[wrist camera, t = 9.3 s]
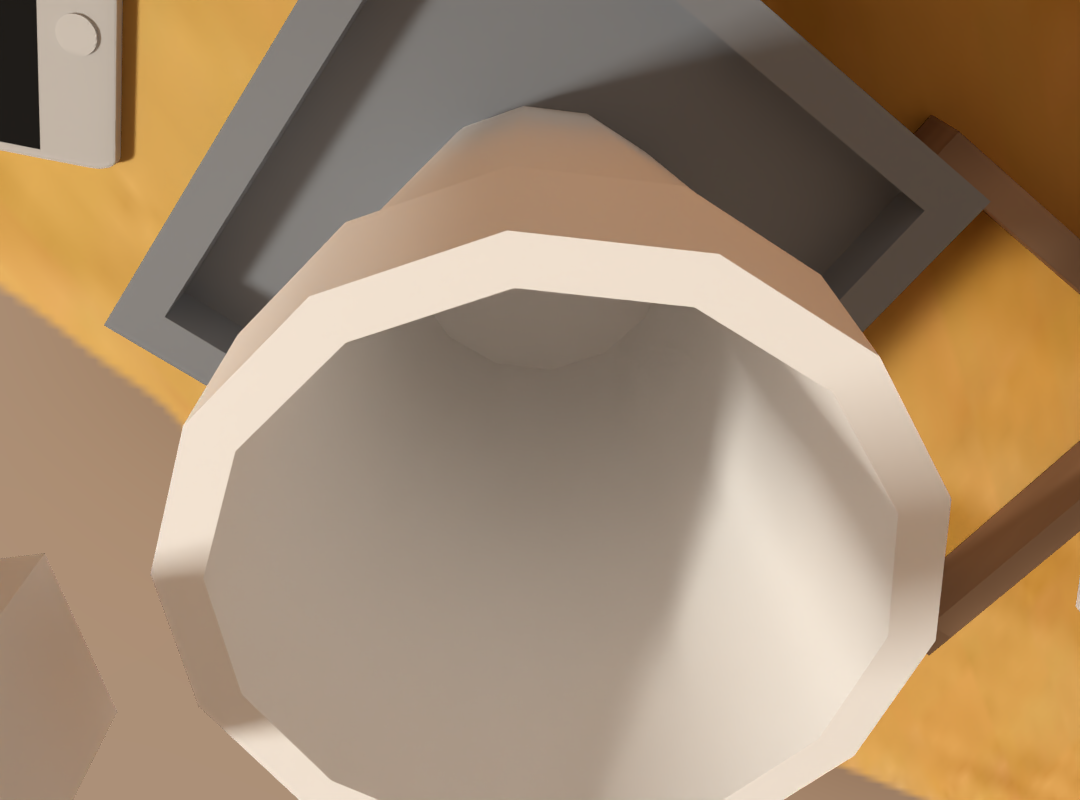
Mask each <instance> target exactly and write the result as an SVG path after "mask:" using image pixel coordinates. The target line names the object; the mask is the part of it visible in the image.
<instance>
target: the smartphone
mask: <svg viewBox="0 0 1080 800" xmlns="http://www.w3.org/2000/svg"><path fill="white" fill-rule="evenodd" d="M122 21H123V0H0V150H2V151H7V152H12V153H17V154H23V155H28V156H33V157H38V158H43V159H48V160H53V161H58V162H64V163H69V164H74V165H79V166H84V167H89V168H98V169H101V168H109V167H111V166H113V165H114V164H116V163H117V162H118V161H119V160H120V158H121V100H122Z"/></svg>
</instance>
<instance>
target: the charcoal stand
mask: <svg viewBox="0 0 1080 800" xmlns="http://www.w3.org/2000/svg"><path fill="white" fill-rule="evenodd" d="M522 106H528V107H536V108H545V109H553V110H561V111H569V112H578V113H586V114H588V115H590V116H591V117H593V118H595V119H596V120H598V121H599V122H601V123H602V124H604V125H605V126H607V127H608V128H610V129H611V130H613V131H614V132H616V133H617V134H619V135H620V136H622V137H623V138H625V139H626V140H628V141H630V142H631V143H633V144H634V145H636V146H637V147H639V148H640V149H642V150H643V151H645V152H646V153H647V154H648V155H650V156H651V157H652V158H653V159H655V160H656V161H657V162H658V163H659V164H661V165H662V166H663V167H664V168H666V169H667V170H668V171H669V172H670V173H672V174H673V175H674V176H675V177H677V178H678V179H679V180H680V181H681V182H683V183H684V184H685V185H686V186H688V187H689V188H690V189H691V190H692V191H694V192H695V193H697V194H698V195H700V196H701V197H703V198H704V199H706V200H707V201H709V202H710V203H712V204H713V205H715V206H716V207H718V208H719V209H721V210H722V211H724V212H726V213H727V214H729V215H730V216H732V217H733V218H735V219H736V220H738V221H739V222H741V223H742V224H744V225H745V226H747V227H748V228H750V229H751V230H753V231H755V232H756V233H758V234H759V235H761V236H762V237H764V238H765V239H767V240H768V241H770V242H771V243H773V244H774V245H776V246H777V247H779V248H781V249H782V250H784V251H785V252H787V253H788V254H790V255H791V256H793V257H794V258H796V259H797V260H799V261H800V262H802V263H803V264H805V265H806V266H808V267H810V268H811V269H813V270H814V271H816V272H817V273H819V274H820V275H821V276H822V277H823V279H824V280H825V281H826V283H827V284H828V286H829V287H830V288H831V290H832V291H833V292H834V294H835V295H836V297H837V298H838V299H839V301H840V302H841V304H842V305H843V306H844V308H845V309H846V311H847V312H848V313H849V315H850V316H851V317H852V319H853V320H854V322H855V323H856V324H857V326H858V327H859V329H860V330H861V331H862V332H863V331H864V330H865V329H866V328H867V327H868V326H869V325H870V324H871V323H872V322H873V321H874V320H875V319H876V318H877V317H878V316H879V315H880V314H881V313H882V312H883V311H884V310H885V309H886V308H887V307H888V306H889V305H890V304H891V303H892V302H893V301H894V300H895V299H896V298H897V297H898V296H899V295H900V294H901V293H902V292H903V291H904V290H905V289H906V288H907V287H908V286H909V285H910V283H911V282H912V281H913V280H914V279H915V278H916V277H917V276H918V275H919V274H920V273H921V272H922V271H923V270H924V269H925V268H926V267H927V266H928V265H929V264H930V263H931V262H932V261H933V260H934V259H935V258H936V257H937V256H938V255H939V254H940V253H941V252H942V251H943V250H944V249H945V248H946V247H947V246H948V245H949V244H950V243H951V242H952V241H953V240H954V239H955V238H956V237H957V236H958V235H959V234H960V233H961V232H962V231H963V230H964V229H965V227H966V226H967V225H968V224H969V223H970V222H971V221H972V220H973V219H974V218H975V217H976V216H977V215H978V214H979V213H980V212H981V211H982V210H983V209H984V208H985V207H986V206H987V205H988V204H989V203H990V202H991V201H989V200H988V199H987V198H986V197H985V196H984V195H983V194H981V193H980V192H979V191H978V190H977V189H976V188H975V187H973V186H972V185H971V184H970V183H969V182H968V181H967V180H965V179H964V178H963V177H962V176H961V175H960V174H959V173H957V172H956V171H955V170H954V169H953V168H952V167H951V166H949V165H948V164H947V163H946V162H945V161H944V160H943V159H941V158H940V157H939V156H938V155H937V154H936V153H935V152H933V151H932V150H931V149H930V148H929V147H928V146H927V145H925V144H924V143H923V142H922V141H921V140H920V139H919V138H917V137H916V136H915V135H914V134H913V133H912V132H911V131H909V130H908V129H907V128H906V127H905V126H904V125H903V124H901V123H900V122H899V121H898V120H897V119H896V118H895V117H893V116H892V115H891V114H890V113H889V112H888V111H887V110H885V109H884V108H883V107H882V106H881V105H880V104H878V103H877V102H876V101H875V100H874V99H873V98H872V97H870V96H869V95H868V94H867V93H866V92H865V91H864V90H862V89H861V88H860V87H859V86H858V85H857V84H856V83H854V82H853V81H852V80H851V79H850V78H849V77H848V76H846V75H845V74H844V73H843V72H842V71H841V70H840V69H838V68H837V67H836V66H835V65H834V64H833V63H832V62H830V61H829V60H828V59H827V58H826V57H825V56H824V55H822V54H821V53H820V52H819V51H818V50H817V49H816V48H814V47H813V46H812V45H811V44H810V43H809V42H808V41H806V40H805V39H804V38H803V37H802V36H801V35H800V34H798V33H797V32H796V31H795V30H794V29H793V28H792V27H790V26H789V25H788V24H787V23H786V22H785V21H784V20H782V19H781V18H780V17H779V16H778V15H777V14H776V13H774V12H773V11H772V10H771V9H770V8H769V7H767V6H766V5H765V4H764V3H763V2H762V1H761V0H298V1H297V3H296V5H295V6H294V8H293V10H292V11H291V13H290V15H289V16H288V18H287V20H286V21H285V23H284V25H283V26H282V28H281V30H280V31H279V33H278V35H277V36H276V38H275V40H274V41H273V43H272V45H271V47H270V48H269V50H268V52H267V53H266V55H265V57H264V58H263V60H262V62H261V63H260V65H259V67H258V68H257V70H256V72H255V73H254V75H253V77H252V78H251V80H250V82H249V83H248V85H247V87H246V88H245V90H244V92H243V93H242V95H241V97H240V98H239V100H238V102H237V103H236V105H235V107H234V108H233V110H232V112H231V113H230V115H229V117H228V119H227V120H226V122H225V124H224V125H223V127H222V129H221V130H220V132H219V134H218V135H217V137H216V139H215V140H214V142H213V144H212V145H211V147H210V149H209V150H208V152H207V154H206V155H205V157H204V159H203V160H202V162H201V164H200V165H199V167H198V169H197V170H196V172H195V174H194V175H193V177H192V179H191V180H190V182H189V184H188V186H187V187H186V189H185V191H184V192H183V194H182V196H181V197H180V199H179V201H178V202H177V204H176V206H175V207H174V209H173V211H172V212H171V214H170V216H169V217H168V219H167V221H166V222H165V224H164V226H163V227H162V229H161V231H160V232H159V234H158V236H157V237H156V239H155V241H154V242H153V244H152V246H151V247H150V249H149V251H148V252H147V254H146V256H145V258H144V259H143V261H142V263H141V264H140V266H139V268H138V269H137V271H136V273H135V274H134V276H133V278H132V279H131V281H130V283H129V284H128V286H127V288H126V289H125V291H124V293H123V294H122V296H121V298H120V299H119V301H118V303H117V304H116V306H115V308H114V309H113V311H112V313H111V314H110V316H109V318H108V319H107V321H106V323H105V325H104V326H106V327H108V328H109V329H111V330H113V331H114V332H116V333H118V334H120V335H121V336H123V337H125V338H126V339H128V340H130V341H132V342H133V343H135V344H137V345H138V346H140V347H142V348H143V349H145V350H147V351H149V352H150V353H152V354H154V355H155V356H157V357H159V358H160V359H162V360H164V361H166V362H167V363H169V364H171V365H172V366H174V367H176V368H177V369H179V370H181V371H183V372H184V373H186V374H188V375H189V376H191V377H193V378H194V379H196V380H198V381H200V382H201V383H203V384H205V385H206V386H207V385H208V383H209V382H210V380H211V378H212V377H213V375H214V373H215V372H216V370H217V368H218V367H219V365H220V363H221V362H222V360H223V358H224V357H225V355H226V353H227V352H228V350H229V348H230V347H231V345H232V343H233V342H234V340H235V338H236V337H237V335H238V334H239V333H240V332H241V331H242V330H243V329H244V328H245V327H246V325H247V324H248V323H249V322H250V321H251V320H252V319H253V318H254V317H255V316H256V315H257V314H258V313H259V312H260V311H261V310H262V309H263V308H264V307H265V306H266V305H267V304H268V302H269V301H270V300H271V299H272V298H273V297H274V296H275V295H276V294H277V293H278V292H279V291H280V290H281V289H282V288H283V287H284V286H285V285H286V284H287V283H288V282H289V281H290V279H291V278H292V277H293V276H294V275H295V274H296V273H297V272H298V271H299V270H300V269H301V268H302V267H303V266H304V265H305V264H306V263H307V262H308V261H309V260H310V259H311V258H312V256H313V255H314V254H315V253H316V252H317V251H318V250H319V249H320V248H321V247H322V246H323V245H324V244H325V243H326V242H327V241H328V240H329V239H330V238H331V237H332V236H333V235H334V234H335V232H336V231H337V230H338V229H339V228H340V227H341V226H342V225H343V224H344V223H345V222H347V221H350V220H353V219H356V218H359V217H362V216H365V215H368V214H371V213H374V212H377V211H380V210H381V209H382V208H383V207H384V206H385V205H386V204H387V203H388V202H389V201H390V200H391V199H392V198H393V197H394V196H395V195H396V194H397V193H398V192H399V191H400V190H401V189H402V187H403V186H404V185H405V184H406V183H407V182H408V181H409V180H410V179H411V178H412V177H413V176H414V175H415V174H416V173H417V172H418V171H419V170H420V169H421V168H422V167H423V166H424V165H425V164H426V163H427V162H428V161H429V160H430V159H431V158H432V157H433V156H434V155H435V154H436V153H437V152H438V151H439V150H440V149H441V148H442V147H443V146H444V145H445V144H446V143H447V142H448V141H449V140H450V139H451V138H452V137H453V136H454V135H455V134H456V133H457V132H458V131H459V130H461V129H462V128H463V127H465V126H468V125H471V124H473V123H476V122H479V121H482V120H485V119H488V118H491V117H493V116H496V115H499V114H502V113H505V112H508V111H510V110H513V109H516V108H519V107H522Z"/></svg>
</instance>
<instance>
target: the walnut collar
mask: <svg viewBox="0 0 1080 800" xmlns="http://www.w3.org/2000/svg"><path fill="white" fill-rule="evenodd" d="M914 135H915V136H916V137H917V138H919V139H920V140H921V141H922V142H923V143H924V144H925V145H927V146H928V147H929V148H930V149H931V150H932V151H933V152H935V153H936V154H937V155H938V156H939V157H940V158H941V159H943V160H944V161H945V162H946V163H947V164H948V165H949V166H951V167H952V168H953V169H954V170H955V171H956V172H957V173H959V174H960V175H961V176H962V177H963V178H964V179H965V180H967V181H968V182H969V183H970V184H971V185H972V186H973V187H975V188H976V189H977V190H978V191H979V192H980V193H981V194H983V195H984V196H985V197H986V198H987V199H988V200H989V201H991V202H990V203H989V204H988V205H987V206H986V207H985V208H984V209H983V211H984V212H985V213H986V214H988V215H989V216H990V217H991V218H992V219H993V220H995V221H996V222H997V223H998V224H999V225H1000V226H1001V227H1003V228H1004V229H1005V230H1006V231H1007V232H1008V233H1010V234H1011V235H1012V236H1013V237H1014V238H1015V239H1016V240H1018V241H1019V242H1020V243H1021V244H1022V245H1023V246H1025V247H1026V248H1027V249H1028V250H1029V251H1030V252H1031V253H1033V254H1034V255H1035V256H1036V257H1037V258H1038V259H1040V260H1041V261H1042V262H1043V263H1044V264H1045V265H1046V266H1048V267H1049V268H1050V269H1051V270H1052V271H1053V272H1055V273H1056V274H1057V275H1058V276H1059V277H1060V278H1061V279H1063V280H1064V281H1065V282H1066V283H1067V284H1068V285H1070V286H1071V287H1072V288H1073V289H1074V290H1075V291H1076V292H1078V293H1079V294H1080V239H1079V238H1078V237H1077V236H1075V235H1074V234H1073V233H1072V232H1071V231H1070V230H1069V229H1068V228H1066V227H1065V226H1064V225H1063V224H1062V223H1061V222H1060V221H1059V220H1058V219H1056V218H1055V217H1054V216H1053V215H1052V214H1051V213H1050V212H1049V211H1047V210H1046V209H1045V208H1044V207H1043V206H1042V205H1041V204H1040V203H1038V202H1037V201H1036V200H1035V199H1034V198H1033V197H1032V196H1031V195H1030V194H1028V193H1027V192H1026V191H1025V190H1024V189H1023V188H1022V187H1021V186H1019V185H1018V184H1017V183H1016V182H1015V181H1014V180H1013V179H1012V178H1010V177H1009V176H1008V175H1007V174H1006V173H1005V172H1004V171H1003V170H1002V169H1000V168H999V167H998V166H997V165H996V164H995V163H994V162H993V161H991V160H990V159H989V158H988V157H987V156H986V155H985V154H984V153H982V152H981V151H980V150H979V149H978V148H977V147H976V146H975V145H973V144H972V143H971V142H970V141H969V140H968V139H967V138H966V137H965V136H963V135H962V134H961V133H960V132H959V131H957V130H956V129H954V128H952V127H951V126H949V125H947V124H946V123H944V122H943V121H941V120H939V119H938V118H936V117H935V116H933V115H931V116H930V117H929V118H928V119H927V121H926V122H925V123H924V124H923V125H922V126H921V127H920V128H919V129H918V130H917V131H916V133H915V134H914ZM1079 531H1080V441H1079V442H1078V443H1077V444H1076V445H1075V446H1074V447H1072V448H1071V449H1070V450H1069V451H1068V452H1067V453H1065V454H1064V455H1063V456H1062V457H1061V458H1060V459H1059V460H1057V461H1056V462H1055V463H1054V464H1053V465H1052V466H1050V467H1049V468H1048V469H1047V470H1046V471H1045V472H1044V473H1042V474H1041V475H1040V476H1039V477H1038V478H1037V479H1035V480H1034V481H1033V482H1032V483H1031V484H1030V485H1029V486H1027V487H1026V488H1025V489H1024V490H1023V491H1022V492H1020V493H1019V494H1018V495H1017V496H1016V497H1015V498H1013V499H1012V500H1011V501H1010V502H1009V503H1008V504H1007V505H1005V506H1004V507H1003V508H1002V509H1001V510H1000V511H998V512H997V513H996V514H995V515H994V516H993V517H992V518H990V519H989V520H988V521H987V522H986V523H985V524H983V525H982V526H981V527H980V528H979V529H978V530H977V531H975V532H974V533H973V534H972V535H971V536H970V537H968V538H967V539H966V540H965V541H964V542H963V543H962V544H960V545H959V546H958V547H957V548H956V549H955V550H953V551H952V552H951V553H950V554H949V555H948V556H946V557H945V560H944V570H943V579H942V588H941V597H940V606H939V615H938V624H937V633H936V641H935V642H934V644H933V645H932V646H931V648H930V649H929V651H928V652H927V653H926V654H928V655H930V654H931V653H933V652H934V651H935V650H936V649H937V648H939V647H940V646H941V645H942V644H944V643H945V642H946V641H947V640H948V639H950V638H951V637H952V636H953V635H954V634H956V633H957V632H958V631H959V630H960V629H962V628H963V627H964V626H965V625H967V624H968V623H969V622H970V621H971V620H973V619H974V618H975V617H976V616H977V615H979V614H980V613H981V612H982V611H984V610H985V609H986V608H987V607H988V606H990V605H991V604H992V603H993V602H994V601H996V600H997V599H998V598H999V597H1001V596H1002V595H1003V594H1004V593H1005V592H1007V591H1008V590H1009V589H1010V588H1011V587H1013V586H1014V585H1015V584H1016V583H1018V582H1019V581H1020V580H1021V579H1022V578H1024V577H1025V576H1026V575H1027V574H1028V573H1030V572H1031V571H1032V570H1033V569H1035V568H1036V567H1037V566H1038V565H1039V564H1041V563H1042V562H1043V561H1044V560H1045V559H1047V558H1048V557H1049V556H1050V555H1052V554H1053V553H1054V552H1055V551H1056V550H1058V549H1059V548H1060V547H1061V546H1062V545H1064V544H1065V543H1066V542H1067V541H1068V540H1070V539H1071V538H1072V537H1073V536H1075V535H1076V534H1077V533H1078V532H1079Z"/></svg>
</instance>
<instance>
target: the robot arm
mask: <svg viewBox="0 0 1080 800" xmlns="http://www.w3.org/2000/svg"><path fill="white" fill-rule="evenodd" d="M1076 607H1077V609H1078V610H1079V611H1080V580H1079V587H1078V594H1077V602H1076ZM116 713H117V710H116V708H115V706H114V704H113V702H112V699H111V697H110V695H109V693H108V690H107V688H106V686H105V684H104V682H103V679H102V678H101V675H100V673H99V671H98V669H97V666H96V664H95V662H94V660H93V658H92V655H91V653H90V651H89V649H88V647H87V645H86V642H85V640H84V638H83V636H82V634H81V632H80V629H79V627H78V625H77V623H76V621H75V618H74V616H73V614H72V612H71V610H70V607H69V605H68V603H67V601H66V599H65V596H64V594H63V592H62V590H61V588H60V586H59V584H58V581H57V579H56V577H55V575H54V573H53V570H52V568H51V566H50V564H49V562H48V559H47V557H46V555H45V553H43V554H35V555H26V556H18V557H10V558H1V559H0V800H73V799H74V797H75V795H76V793H77V791H78V789H79V787H80V785H81V783H82V781H83V779H84V777H85V775H86V773H87V771H88V769H89V767H90V765H91V763H92V761H93V759H94V757H95V755H96V753H97V751H98V749H99V747H100V745H101V743H102V741H103V739H104V737H105V735H106V733H107V731H108V729H109V727H110V725H111V723H112V721H113V719H114V717H115V715H116Z"/></svg>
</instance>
